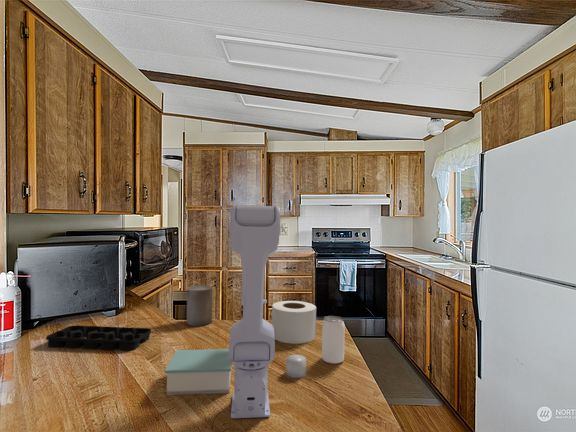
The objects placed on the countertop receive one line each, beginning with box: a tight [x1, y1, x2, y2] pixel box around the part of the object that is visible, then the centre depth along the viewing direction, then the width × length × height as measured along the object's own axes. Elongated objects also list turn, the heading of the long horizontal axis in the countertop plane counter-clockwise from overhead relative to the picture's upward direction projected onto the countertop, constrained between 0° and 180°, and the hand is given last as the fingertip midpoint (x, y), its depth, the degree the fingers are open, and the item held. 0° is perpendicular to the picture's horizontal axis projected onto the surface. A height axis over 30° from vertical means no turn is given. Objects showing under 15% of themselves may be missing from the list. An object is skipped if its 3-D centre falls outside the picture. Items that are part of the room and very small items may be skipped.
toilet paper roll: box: [271, 300, 317, 345], centre depth 117 cm, size 16×15×11 cm
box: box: [166, 367, 233, 396], centre depth 83 cm, size 12×14×5 cm
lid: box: [164, 348, 233, 374], centre depth 82 cm, size 12×15×1 cm
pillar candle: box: [186, 284, 213, 327], centre depth 130 cm, size 10×10×15 cm
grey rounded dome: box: [285, 354, 307, 379], centre depth 88 cm, size 5×5×4 cm
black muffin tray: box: [45, 325, 152, 352], centre depth 107 cm, size 18×30×4 cm, turn 99°
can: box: [321, 315, 346, 365], centre depth 98 cm, size 6×6×12 cm
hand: (251, 334), depth 90 cm, fingers open, 4 cm apart
